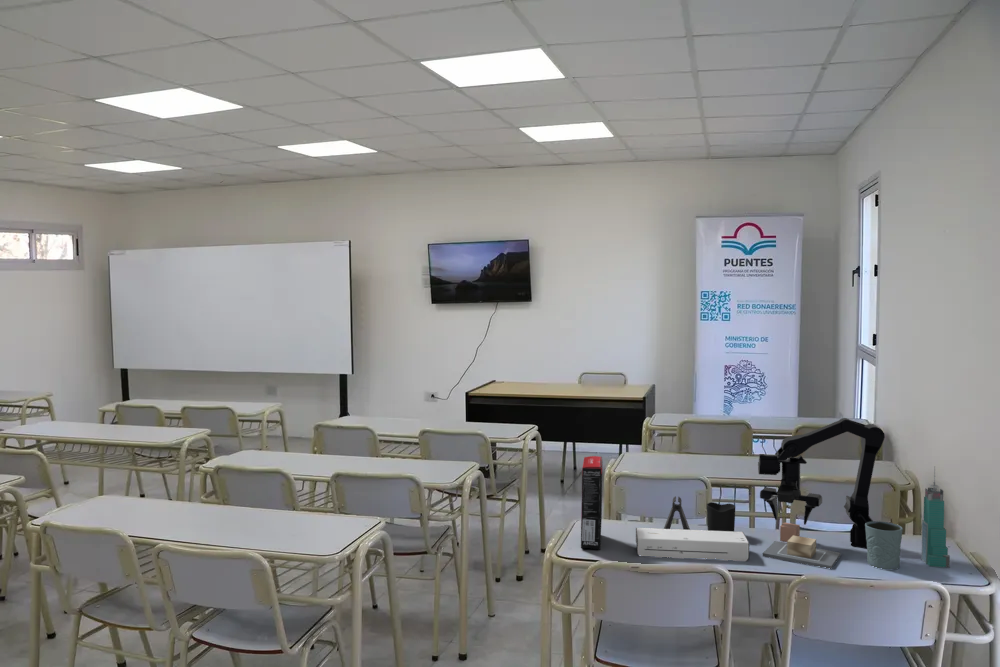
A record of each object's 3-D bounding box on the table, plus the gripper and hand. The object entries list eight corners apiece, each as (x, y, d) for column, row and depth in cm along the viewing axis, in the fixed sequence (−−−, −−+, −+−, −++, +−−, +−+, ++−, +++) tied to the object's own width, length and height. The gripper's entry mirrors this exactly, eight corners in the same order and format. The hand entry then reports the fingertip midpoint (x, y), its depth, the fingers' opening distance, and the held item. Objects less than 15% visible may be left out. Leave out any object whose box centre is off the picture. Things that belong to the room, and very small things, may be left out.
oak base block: (816, 551, 232) (816, 539, 232) (810, 558, 226) (811, 545, 226) (792, 547, 236) (793, 535, 236) (787, 553, 230) (787, 541, 230)
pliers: (690, 531, 257) (690, 497, 256) (690, 536, 251) (690, 501, 250) (663, 529, 259) (664, 495, 258) (663, 534, 253) (663, 500, 253)
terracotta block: (799, 539, 247) (799, 524, 247) (795, 543, 243) (796, 528, 243) (784, 536, 250) (784, 522, 250) (780, 540, 246) (780, 526, 246)
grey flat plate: (840, 555, 231) (840, 552, 231) (831, 569, 220) (831, 565, 220) (774, 543, 243) (774, 540, 243) (762, 556, 231) (762, 552, 231)
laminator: (636, 557, 232) (636, 538, 232) (635, 544, 244) (635, 526, 244) (749, 562, 227) (749, 542, 227) (742, 549, 239) (742, 530, 239)
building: (943, 560, 226) (945, 463, 225) (950, 567, 220) (952, 468, 219) (921, 559, 228) (923, 463, 226) (928, 566, 222) (930, 467, 220)
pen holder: (719, 528, 260) (720, 500, 259) (741, 535, 251) (741, 506, 251) (700, 533, 255) (700, 504, 254) (721, 540, 247) (722, 511, 246)
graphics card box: (582, 533, 255) (582, 455, 254) (602, 534, 254) (602, 455, 253) (580, 550, 238) (580, 466, 237) (602, 551, 237) (602, 467, 236)
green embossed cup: (873, 570, 218) (874, 530, 218) (858, 558, 229) (859, 520, 228) (908, 570, 218) (909, 530, 218) (891, 558, 228) (892, 520, 228)
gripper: (755, 477, 244) (754, 523, 245) (815, 484, 234) (814, 533, 234) (764, 470, 254) (764, 515, 254) (822, 477, 243) (822, 524, 243)
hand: (790, 522), depth 246 cm, fingers open, 9 cm apart
